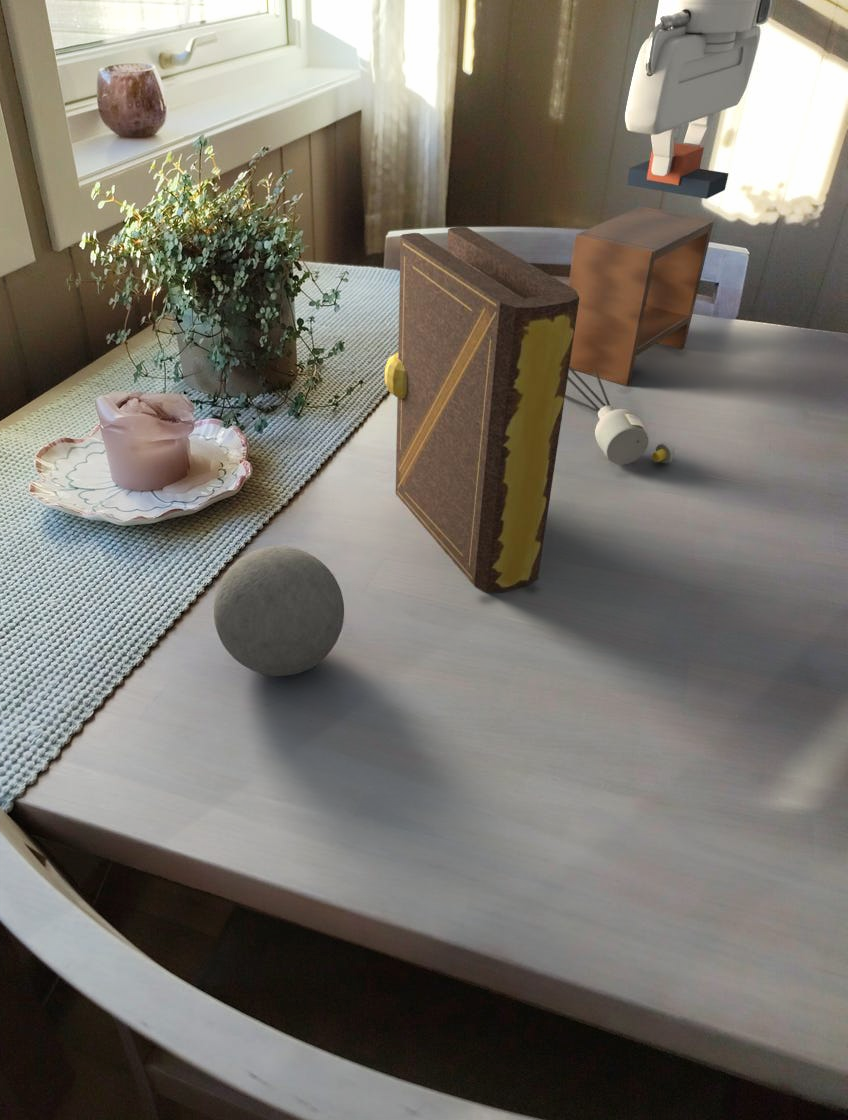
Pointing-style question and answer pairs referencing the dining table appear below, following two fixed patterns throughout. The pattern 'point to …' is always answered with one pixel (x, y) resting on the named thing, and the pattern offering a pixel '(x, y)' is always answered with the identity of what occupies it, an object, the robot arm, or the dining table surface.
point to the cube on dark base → (681, 175)
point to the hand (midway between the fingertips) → (674, 168)
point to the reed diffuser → (621, 431)
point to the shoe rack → (635, 287)
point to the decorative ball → (278, 611)
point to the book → (480, 400)
